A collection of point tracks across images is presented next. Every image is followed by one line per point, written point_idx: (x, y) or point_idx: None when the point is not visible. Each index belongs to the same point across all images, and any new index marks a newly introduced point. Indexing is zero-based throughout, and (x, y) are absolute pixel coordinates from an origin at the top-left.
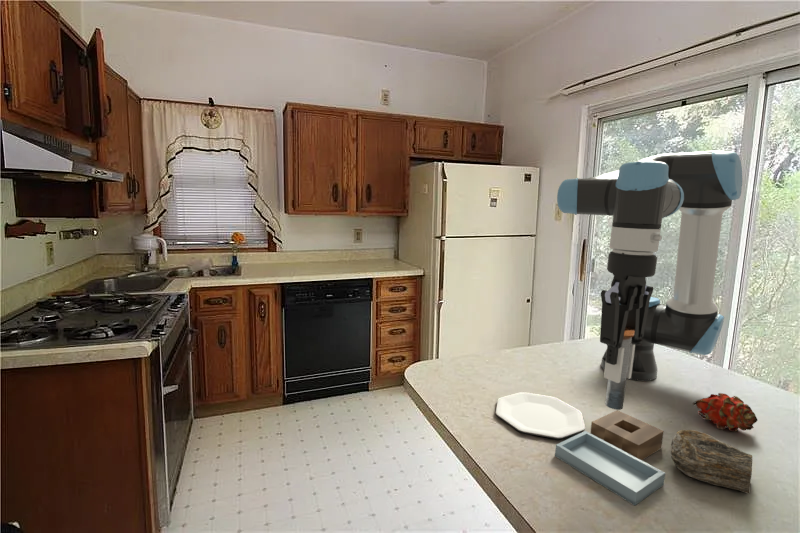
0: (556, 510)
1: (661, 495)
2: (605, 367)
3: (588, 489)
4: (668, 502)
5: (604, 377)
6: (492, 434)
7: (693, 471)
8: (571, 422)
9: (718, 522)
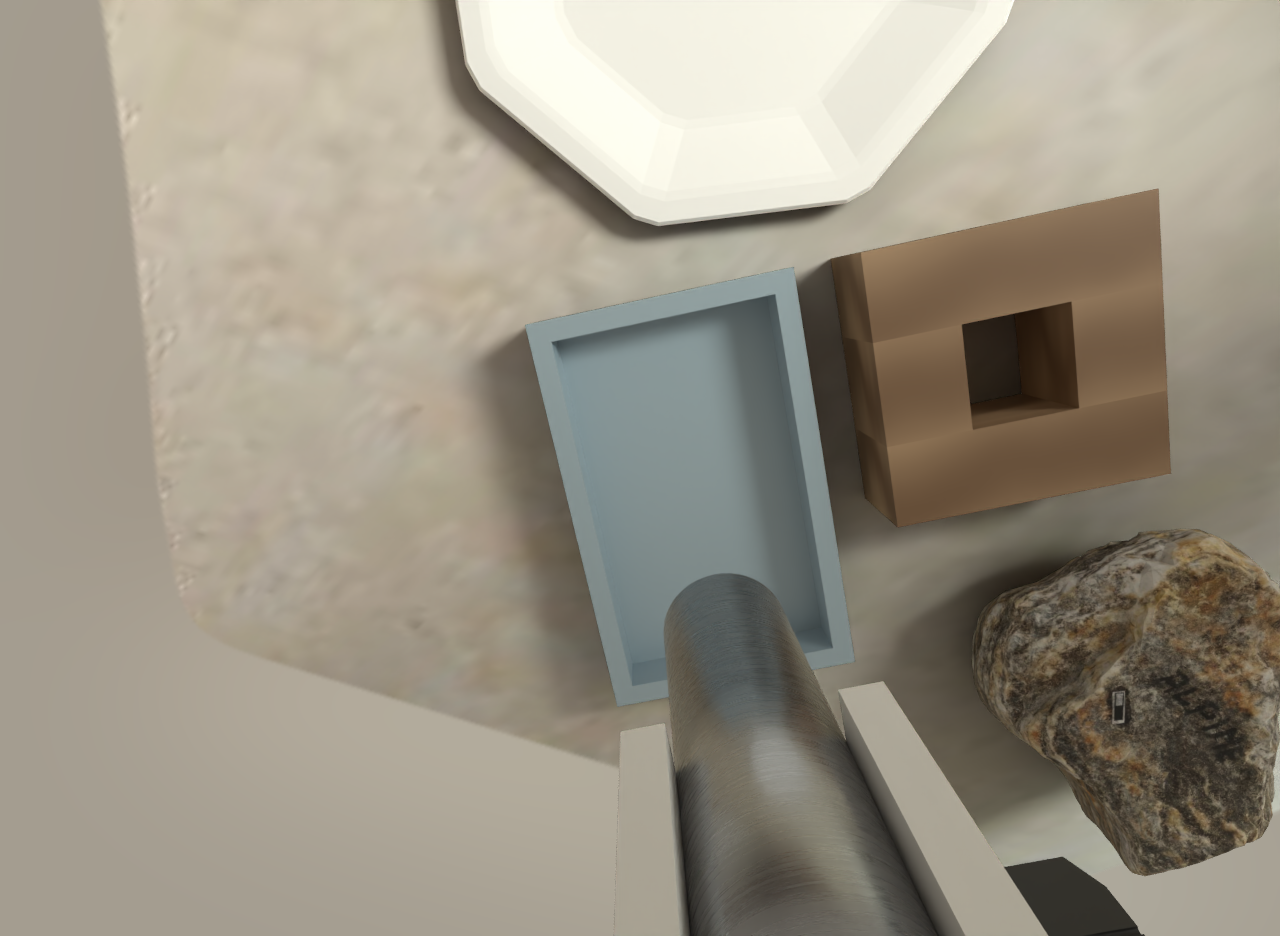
0: (311, 601)
1: None
2: (619, 822)
3: (516, 554)
4: None
5: (623, 741)
6: (317, 23)
7: (980, 695)
8: (857, 88)
9: None
